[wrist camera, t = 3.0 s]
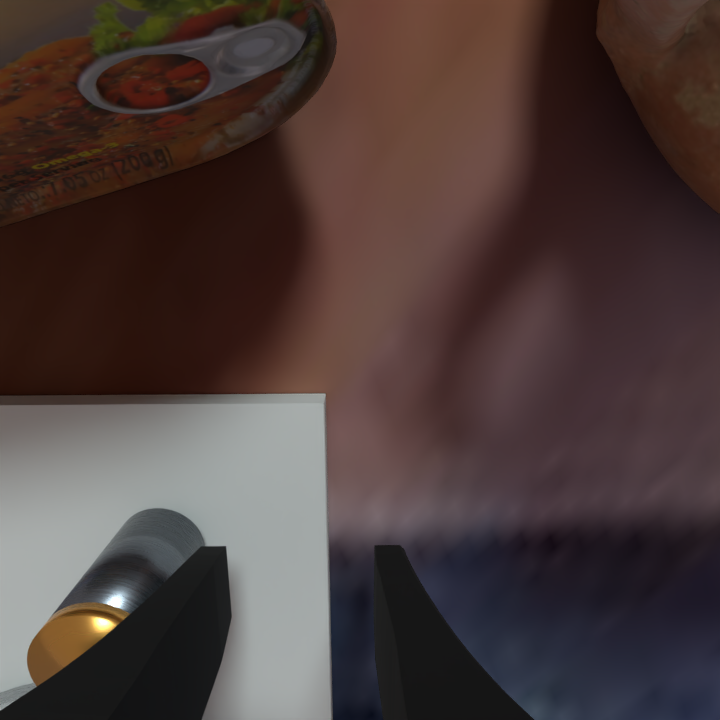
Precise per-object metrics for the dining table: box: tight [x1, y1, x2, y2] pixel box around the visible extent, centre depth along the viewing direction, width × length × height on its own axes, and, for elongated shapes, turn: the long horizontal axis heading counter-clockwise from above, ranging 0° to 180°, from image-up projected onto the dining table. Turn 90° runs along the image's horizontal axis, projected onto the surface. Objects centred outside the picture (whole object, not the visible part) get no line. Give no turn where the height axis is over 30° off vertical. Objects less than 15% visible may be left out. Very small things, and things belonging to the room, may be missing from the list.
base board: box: [0, 394, 333, 720], centre depth 16 cm, size 20×18×1 cm
